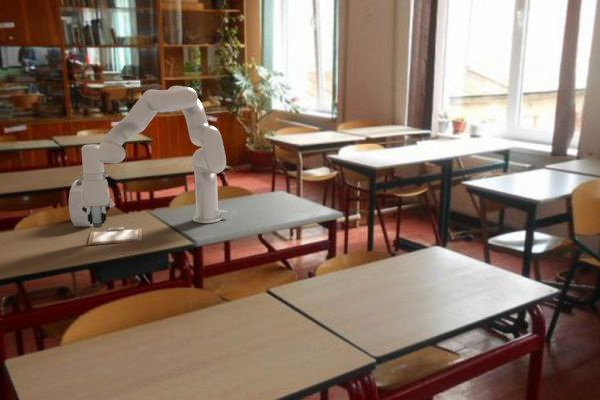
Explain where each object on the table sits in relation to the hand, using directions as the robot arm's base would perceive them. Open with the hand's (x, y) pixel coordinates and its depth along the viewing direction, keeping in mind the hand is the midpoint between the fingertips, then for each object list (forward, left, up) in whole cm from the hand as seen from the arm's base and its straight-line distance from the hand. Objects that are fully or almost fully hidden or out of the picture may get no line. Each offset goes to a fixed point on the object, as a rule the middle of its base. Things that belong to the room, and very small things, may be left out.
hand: (97, 222), depth 222 cm
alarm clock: (+6, -29, -8) cm, 31 cm away
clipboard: (-6, -4, -8) cm, 11 cm away
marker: (0, 0, -2) cm, 2 cm away
